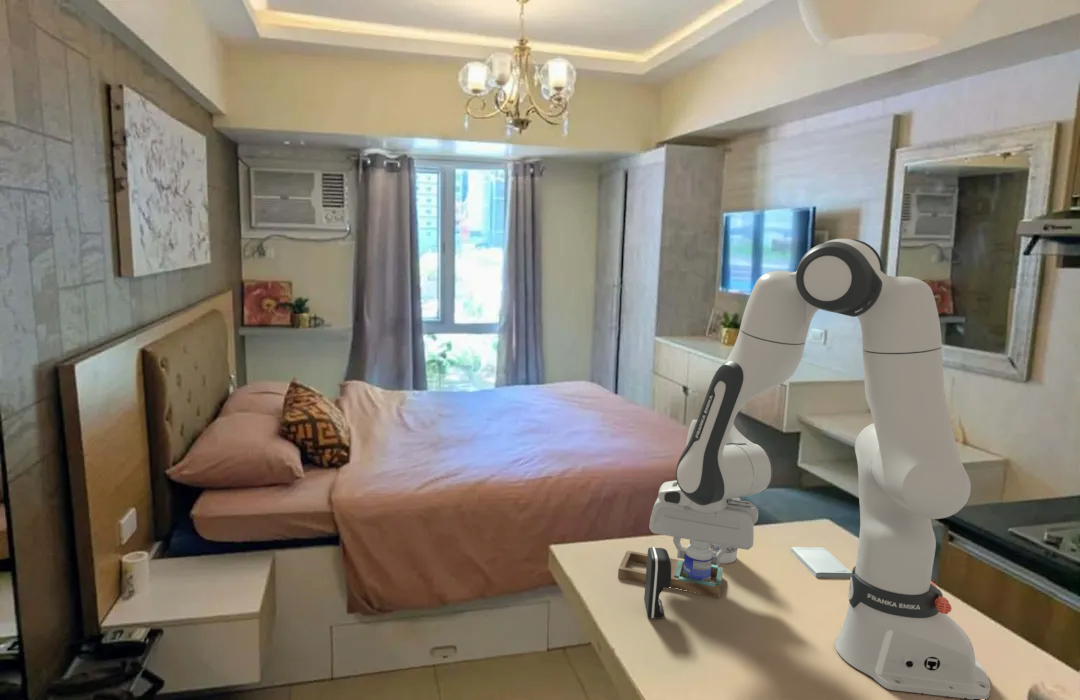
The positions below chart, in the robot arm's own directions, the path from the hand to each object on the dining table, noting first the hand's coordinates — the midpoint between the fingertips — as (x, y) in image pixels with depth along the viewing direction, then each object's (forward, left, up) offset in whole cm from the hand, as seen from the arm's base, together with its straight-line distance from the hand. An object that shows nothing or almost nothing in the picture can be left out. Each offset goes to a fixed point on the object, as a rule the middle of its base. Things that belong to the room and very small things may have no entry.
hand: (697, 560), depth 136 cm
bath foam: (-4, -14, -5) cm, 16 cm away
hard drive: (-25, -20, -6) cm, 32 cm away
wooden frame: (+5, 0, -5) cm, 7 cm away
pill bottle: (0, 0, -5) cm, 5 cm away
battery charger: (+6, +14, -5) cm, 16 cm away
